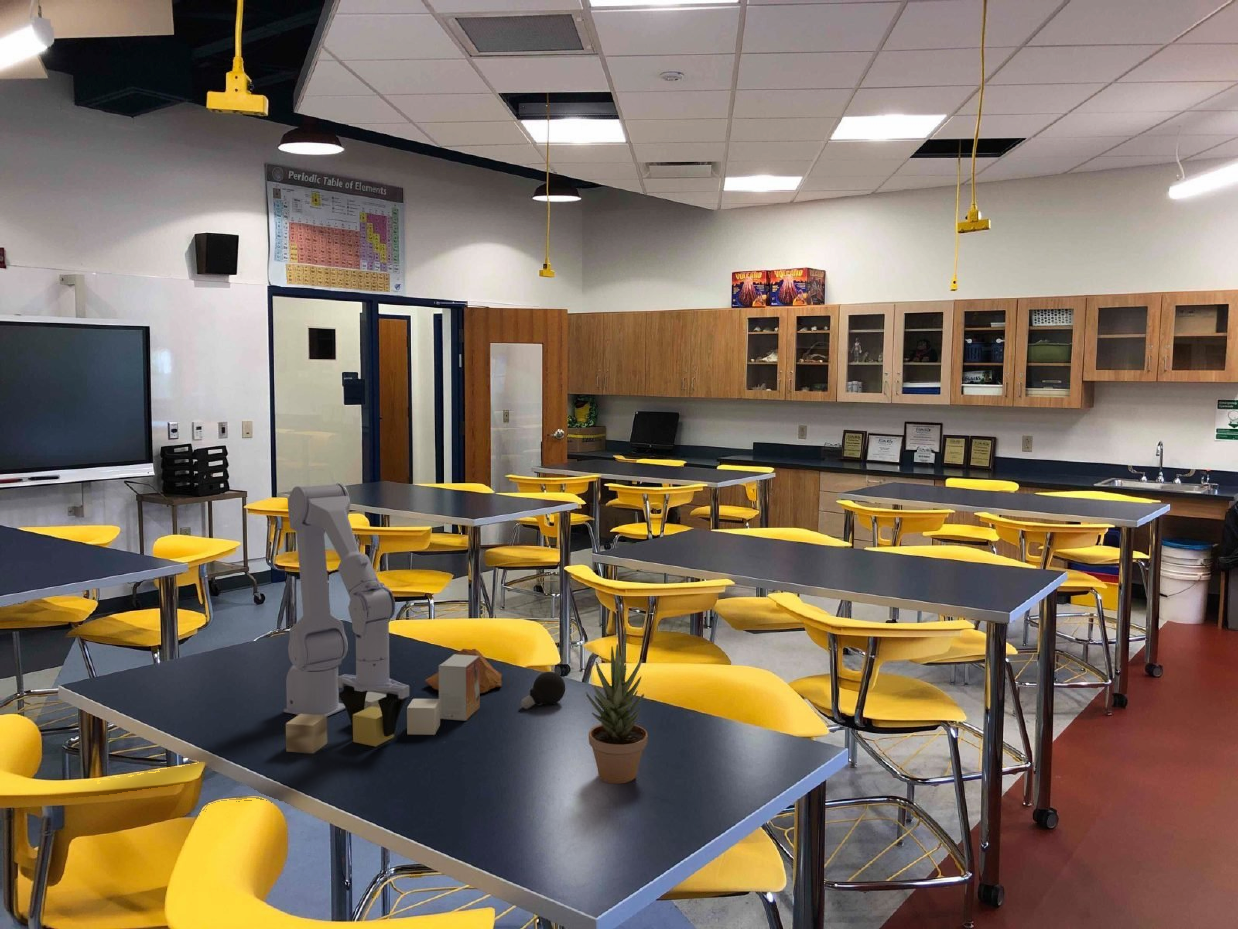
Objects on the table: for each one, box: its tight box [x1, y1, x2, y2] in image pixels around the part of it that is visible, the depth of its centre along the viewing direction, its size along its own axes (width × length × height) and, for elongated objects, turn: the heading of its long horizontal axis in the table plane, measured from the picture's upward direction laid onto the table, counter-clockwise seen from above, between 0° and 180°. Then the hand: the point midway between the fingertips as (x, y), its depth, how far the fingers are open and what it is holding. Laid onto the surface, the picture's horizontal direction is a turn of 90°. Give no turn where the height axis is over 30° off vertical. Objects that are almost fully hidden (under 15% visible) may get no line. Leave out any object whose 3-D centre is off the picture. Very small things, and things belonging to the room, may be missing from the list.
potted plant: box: [585, 627, 649, 784], centre depth 154 cm, size 10×10×25 cm
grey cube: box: [364, 691, 386, 709], centre depth 178 cm, size 5×5×5 cm
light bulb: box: [520, 671, 566, 710], centre depth 189 cm, size 6×6×10 cm
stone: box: [424, 648, 503, 694], centre depth 199 cm, size 15×15×10 cm
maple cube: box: [285, 714, 328, 754], centre depth 166 cm, size 5×5×5 cm
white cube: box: [406, 698, 441, 736], centre depth 175 cm, size 5×5×5 cm
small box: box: [438, 653, 481, 721], centre depth 183 cm, size 8×6×10 cm
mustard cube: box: [352, 706, 395, 747], centre depth 170 cm, size 5×5×5 cm
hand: (373, 731), depth 170 cm, fingers open, 6 cm apart
